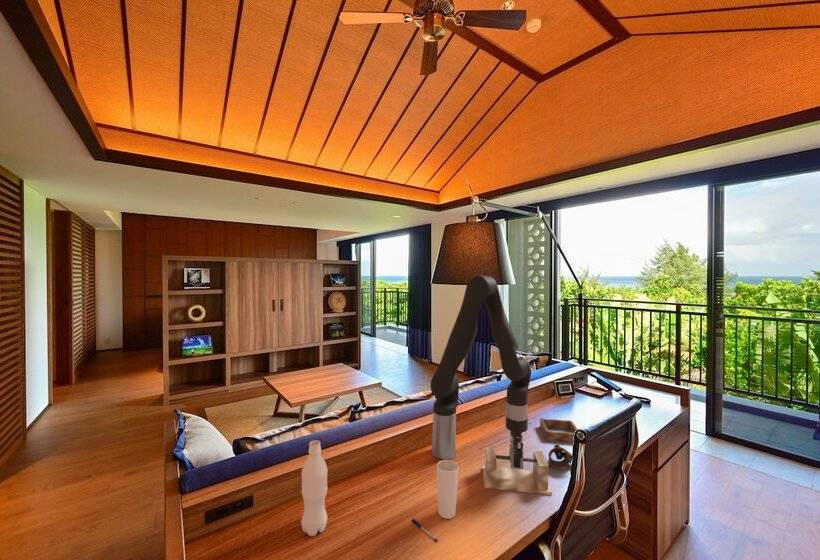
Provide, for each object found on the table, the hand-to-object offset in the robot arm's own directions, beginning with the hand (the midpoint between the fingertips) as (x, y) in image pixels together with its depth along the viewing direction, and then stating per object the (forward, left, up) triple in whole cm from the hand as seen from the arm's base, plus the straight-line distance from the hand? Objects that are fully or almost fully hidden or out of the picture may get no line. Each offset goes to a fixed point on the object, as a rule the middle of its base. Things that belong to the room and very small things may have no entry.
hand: (515, 462), depth 124 cm
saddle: (0, 0, -1) cm, 1 cm away
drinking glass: (-23, -21, -7) cm, 32 cm away
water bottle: (-60, -34, -7) cm, 69 cm away
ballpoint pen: (-29, -29, -7) cm, 42 cm away
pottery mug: (+19, +13, -7) cm, 24 cm away
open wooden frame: (+25, +40, -7) cm, 48 cm away
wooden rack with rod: (0, 0, -7) cm, 7 cm away
